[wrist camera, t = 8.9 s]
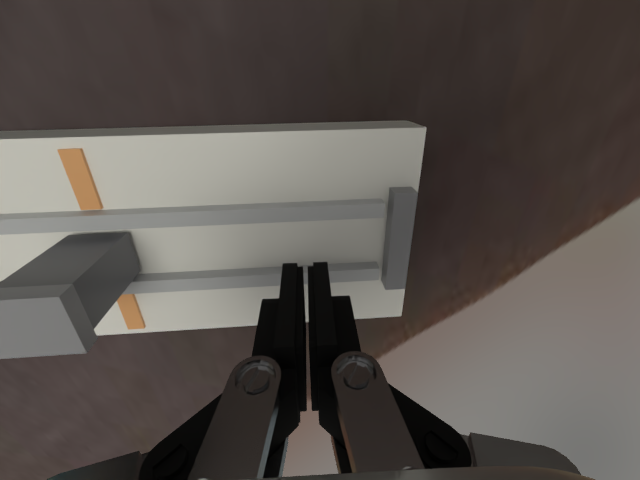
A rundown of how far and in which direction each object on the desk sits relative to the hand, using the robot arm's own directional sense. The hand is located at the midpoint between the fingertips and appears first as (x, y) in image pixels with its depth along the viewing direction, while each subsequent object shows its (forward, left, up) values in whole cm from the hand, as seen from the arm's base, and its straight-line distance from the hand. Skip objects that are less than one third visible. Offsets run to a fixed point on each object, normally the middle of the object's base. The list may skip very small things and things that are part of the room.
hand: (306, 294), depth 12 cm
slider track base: (+7, +1, -9) cm, 11 cm away
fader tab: (+11, +1, -6) cm, 12 cm away
